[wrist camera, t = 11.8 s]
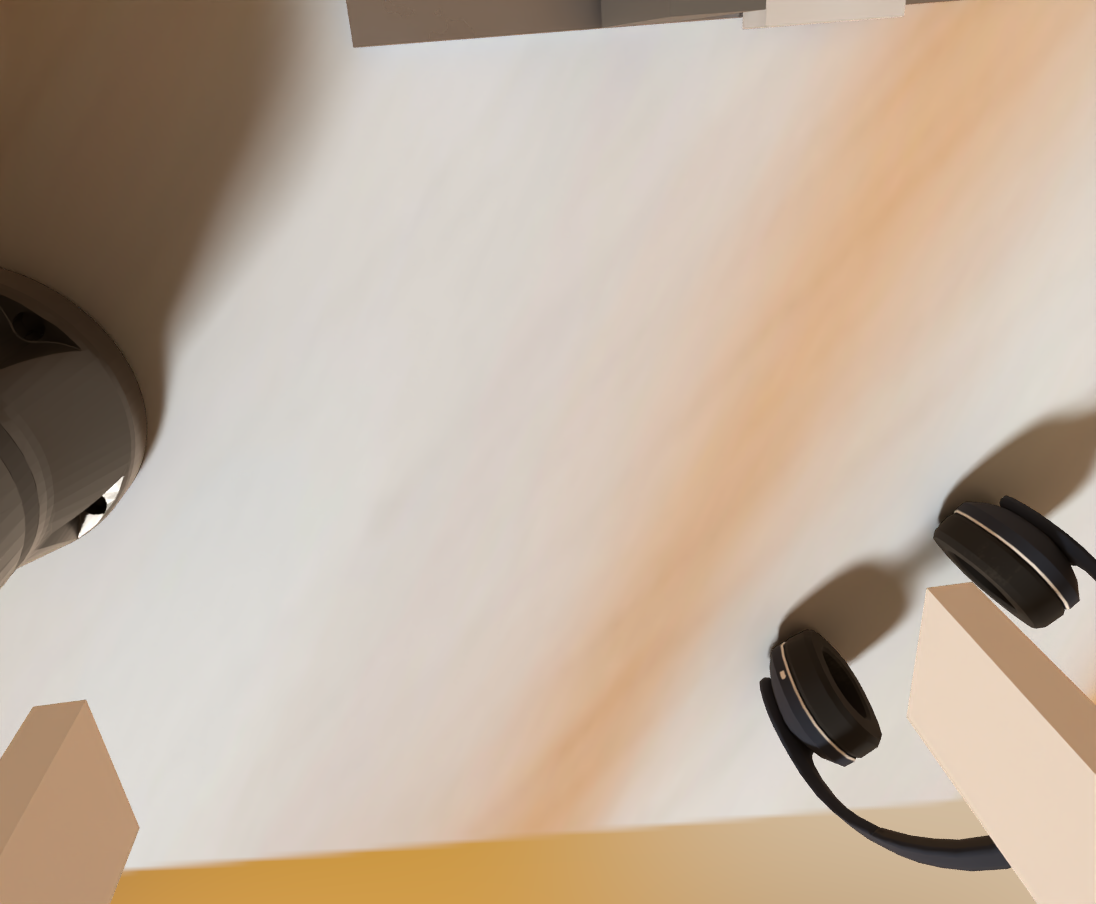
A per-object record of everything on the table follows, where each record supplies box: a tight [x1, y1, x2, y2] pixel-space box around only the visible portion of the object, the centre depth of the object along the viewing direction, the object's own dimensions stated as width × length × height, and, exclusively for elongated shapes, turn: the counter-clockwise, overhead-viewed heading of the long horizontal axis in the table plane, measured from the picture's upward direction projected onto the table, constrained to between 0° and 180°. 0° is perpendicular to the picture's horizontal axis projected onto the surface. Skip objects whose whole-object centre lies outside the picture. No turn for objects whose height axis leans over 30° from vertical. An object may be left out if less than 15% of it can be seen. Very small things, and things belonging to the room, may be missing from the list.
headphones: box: [760, 496, 1096, 871], centre depth 46 cm, size 20×7×18 cm, turn 133°
